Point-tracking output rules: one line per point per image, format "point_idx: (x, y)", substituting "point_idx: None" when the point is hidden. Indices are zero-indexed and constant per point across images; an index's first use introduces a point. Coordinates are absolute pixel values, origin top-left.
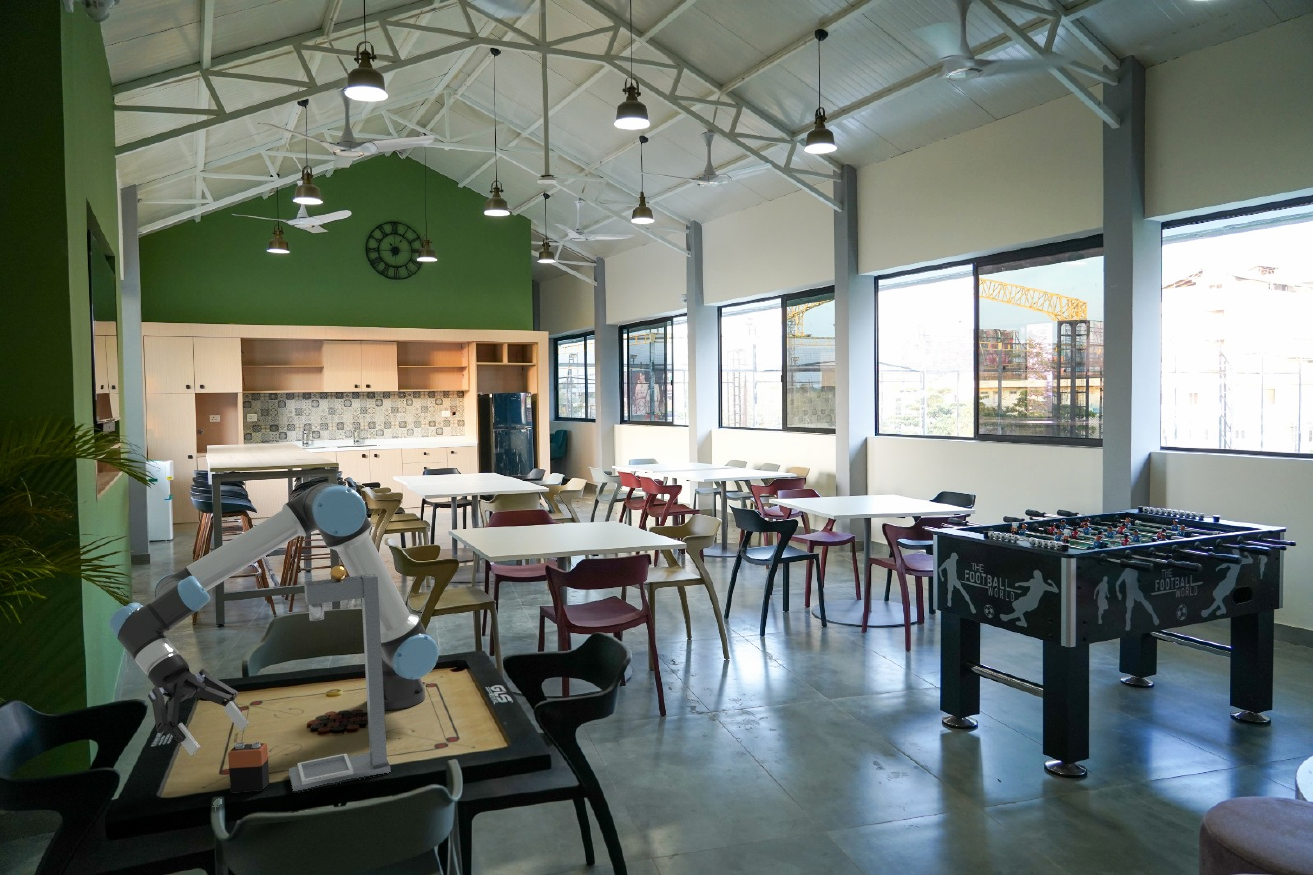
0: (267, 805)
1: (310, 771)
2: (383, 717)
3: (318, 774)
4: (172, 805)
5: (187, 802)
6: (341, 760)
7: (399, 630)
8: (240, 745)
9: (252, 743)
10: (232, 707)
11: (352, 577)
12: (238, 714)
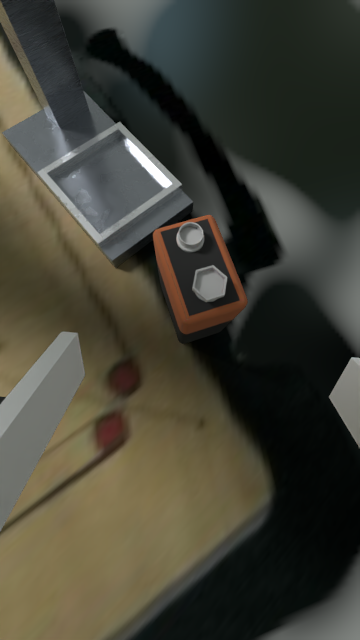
0: (245, 227)
1: (121, 208)
2: None
3: (133, 185)
4: (299, 426)
5: (278, 401)
6: (60, 179)
7: None
8: (220, 271)
9: (193, 244)
10: (6, 439)
11: None
12: (45, 381)
